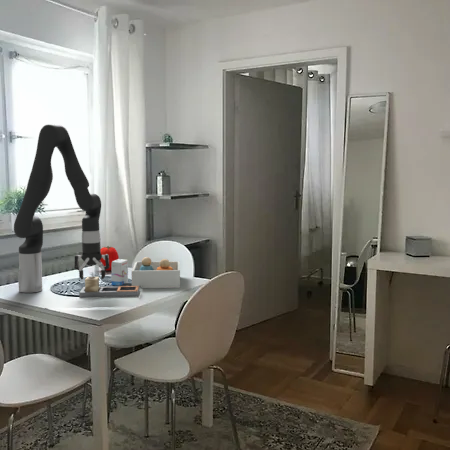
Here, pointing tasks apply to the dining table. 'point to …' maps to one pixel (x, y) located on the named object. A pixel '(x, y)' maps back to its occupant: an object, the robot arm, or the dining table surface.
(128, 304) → the dining table surface
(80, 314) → the dining table surface
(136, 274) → the box
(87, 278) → the beige upright block
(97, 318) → the dining table surface
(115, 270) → the ink box
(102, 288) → the gray sorting tray
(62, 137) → the robot arm
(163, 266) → the wooden peg dolls
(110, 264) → the tomato
